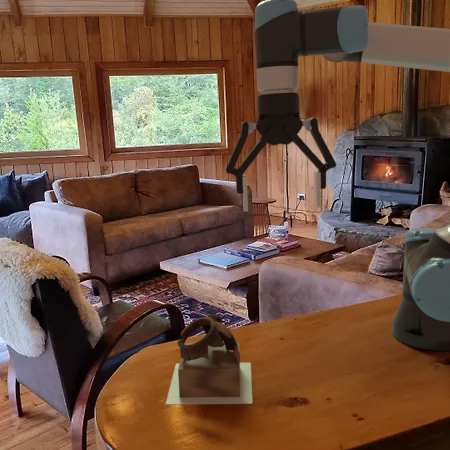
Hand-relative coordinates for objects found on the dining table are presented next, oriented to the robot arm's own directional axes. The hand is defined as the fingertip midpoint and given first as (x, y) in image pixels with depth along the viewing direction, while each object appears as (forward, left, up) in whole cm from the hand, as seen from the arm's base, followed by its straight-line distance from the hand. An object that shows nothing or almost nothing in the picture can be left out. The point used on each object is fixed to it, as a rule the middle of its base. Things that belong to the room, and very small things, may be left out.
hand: (281, 208), depth 99 cm
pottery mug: (+13, +15, -23) cm, 30 cm away
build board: (+13, +14, -29) cm, 35 cm away
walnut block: (+13, +14, -28) cm, 34 cm away
